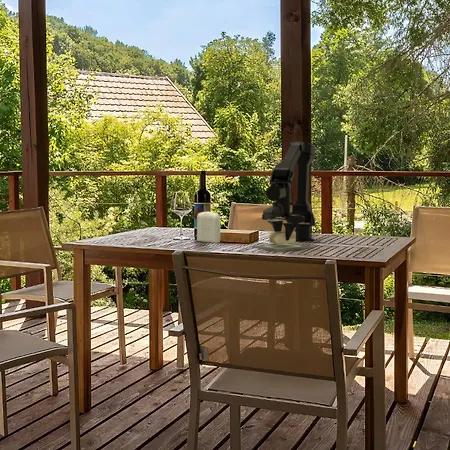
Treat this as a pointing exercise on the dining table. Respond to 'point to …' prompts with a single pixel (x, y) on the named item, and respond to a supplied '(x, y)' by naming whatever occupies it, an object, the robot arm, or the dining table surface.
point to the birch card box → (281, 237)
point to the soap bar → (208, 227)
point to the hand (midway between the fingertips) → (282, 239)
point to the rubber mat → (282, 247)
